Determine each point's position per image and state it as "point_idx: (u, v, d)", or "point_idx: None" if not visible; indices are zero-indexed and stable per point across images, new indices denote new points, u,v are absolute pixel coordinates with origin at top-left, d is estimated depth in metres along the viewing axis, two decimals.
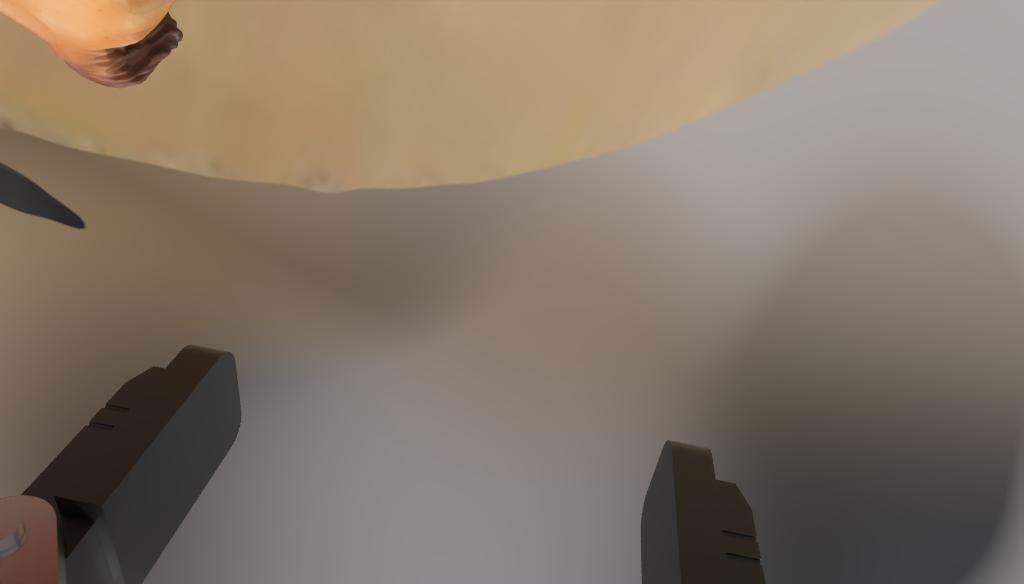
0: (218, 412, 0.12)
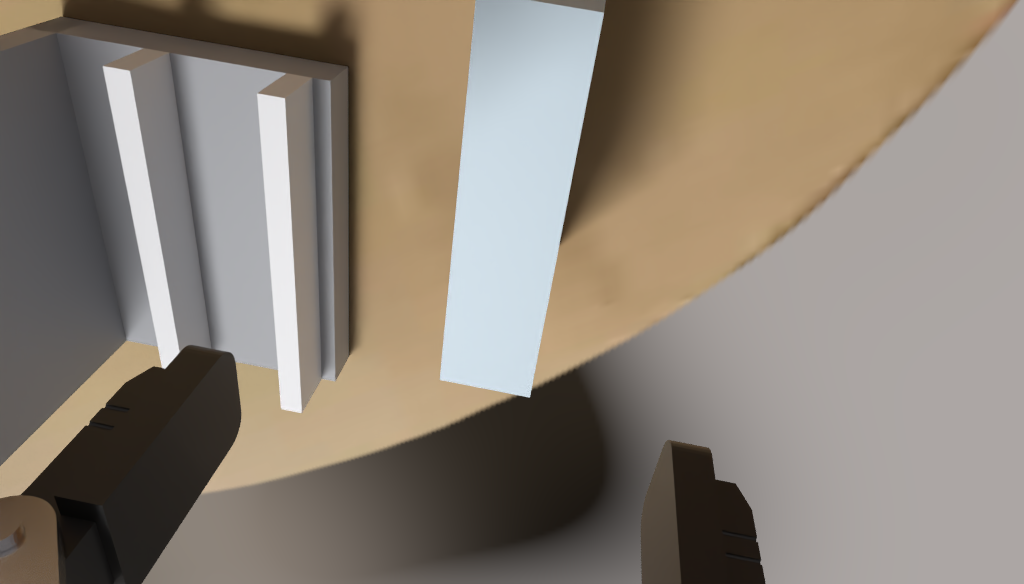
0: (217, 411, 0.12)
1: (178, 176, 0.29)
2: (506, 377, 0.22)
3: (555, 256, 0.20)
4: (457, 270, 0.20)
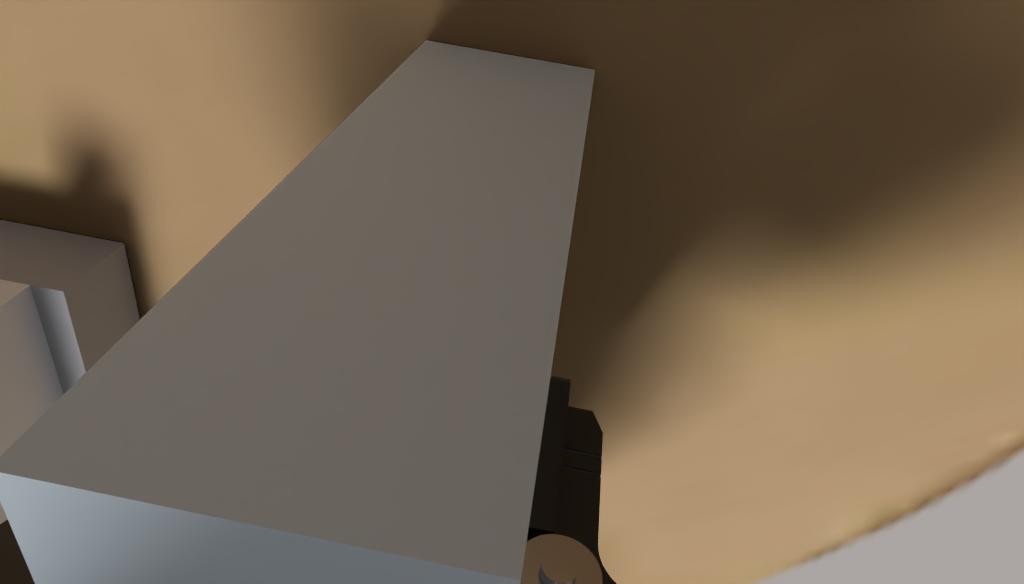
0: None
1: None
2: None
3: None
4: None
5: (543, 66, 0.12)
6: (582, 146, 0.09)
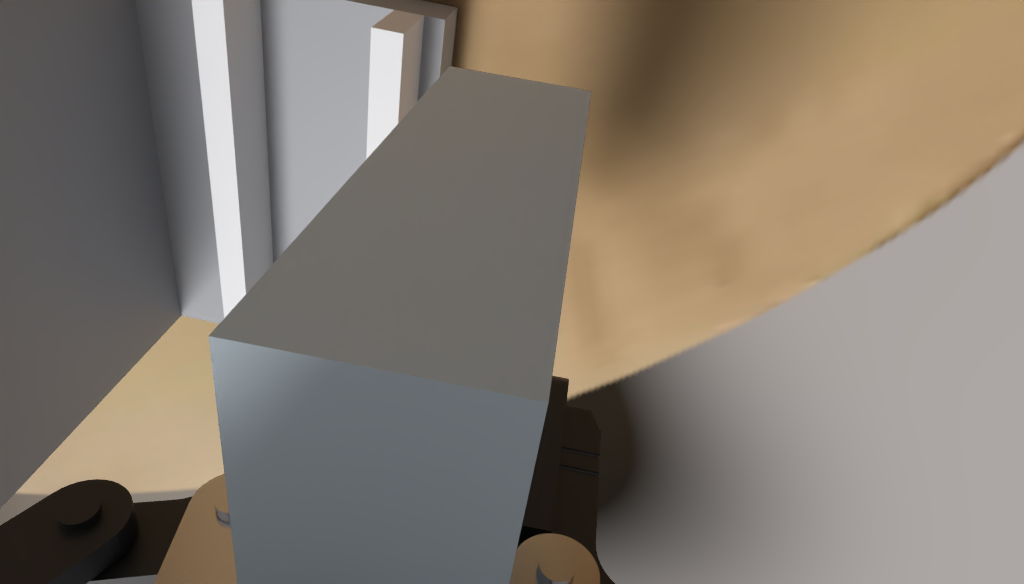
0: None
1: (259, 128, 0.25)
2: None
3: None
4: None
5: (548, 87, 0.14)
6: (581, 150, 0.11)
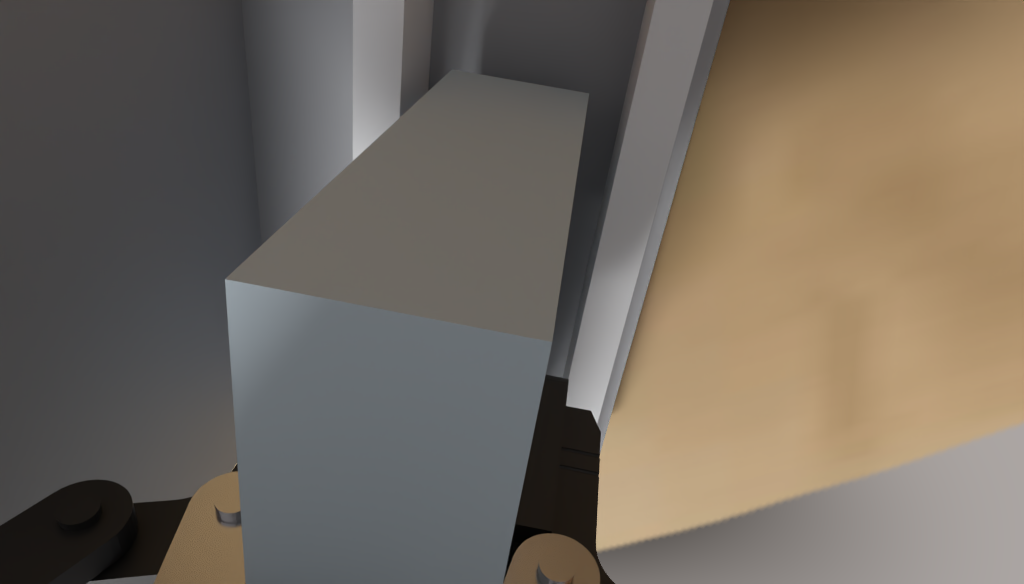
0: None
1: None
2: None
3: None
4: None
5: (547, 89, 0.15)
6: (580, 140, 0.12)
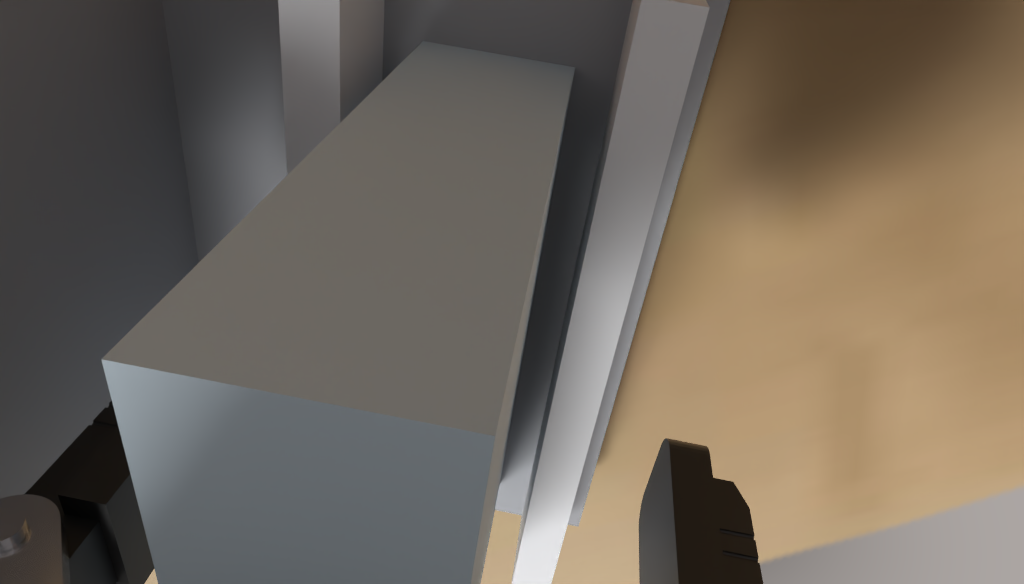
0: None
1: None
2: None
3: None
4: None
5: (528, 64, 0.13)
6: (559, 133, 0.10)
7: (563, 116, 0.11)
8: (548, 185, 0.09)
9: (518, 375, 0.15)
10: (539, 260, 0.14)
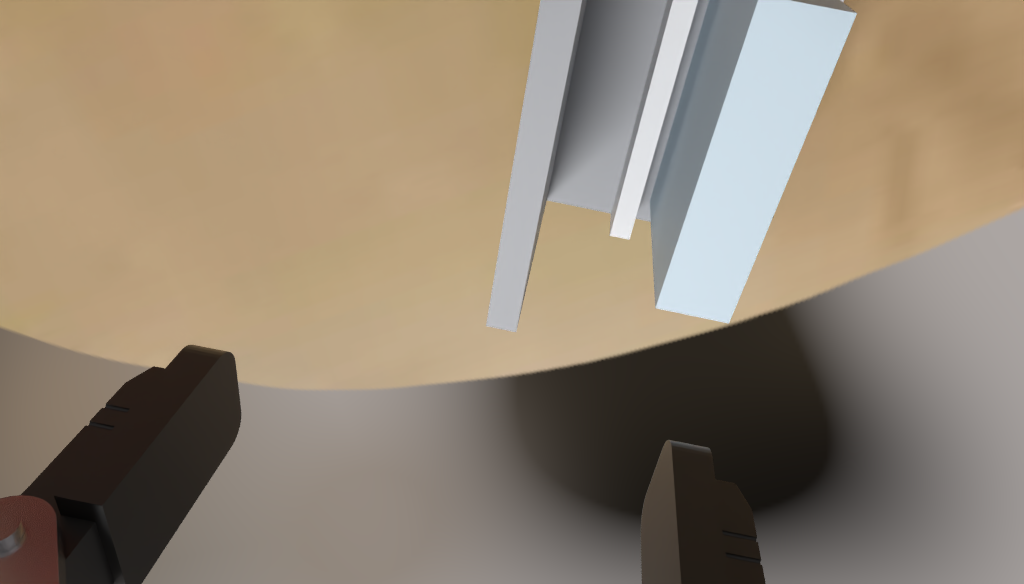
0: (218, 412, 0.12)
1: None
2: (712, 306, 0.28)
3: (776, 204, 0.25)
4: (692, 215, 0.26)
5: None
6: None
7: None
8: None
9: None
10: None
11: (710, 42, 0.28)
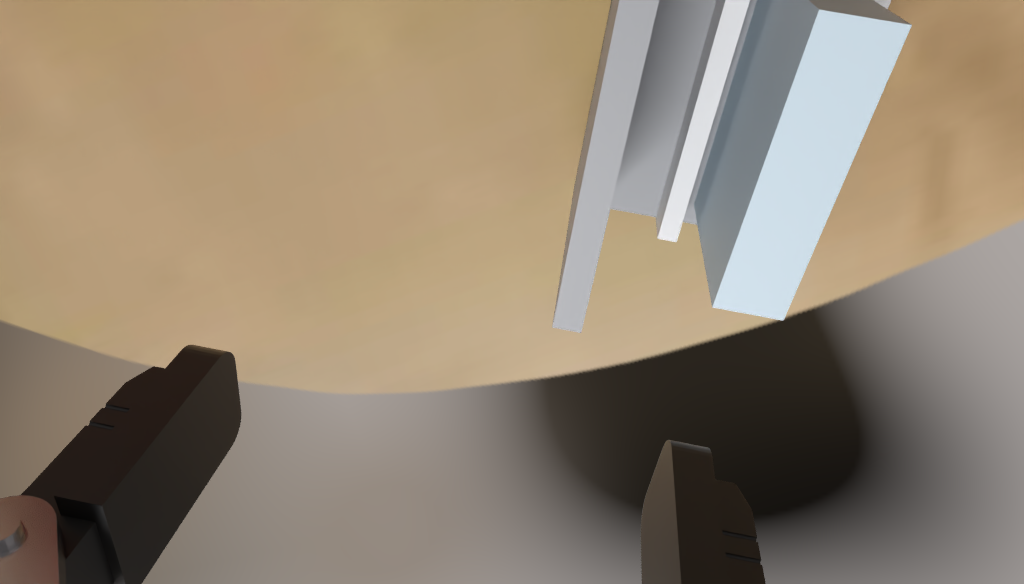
0: (218, 412, 0.12)
1: None
2: (768, 304, 0.29)
3: (831, 206, 0.26)
4: (750, 218, 0.27)
5: None
6: None
7: None
8: None
9: None
10: None
11: (759, 52, 0.30)
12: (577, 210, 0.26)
